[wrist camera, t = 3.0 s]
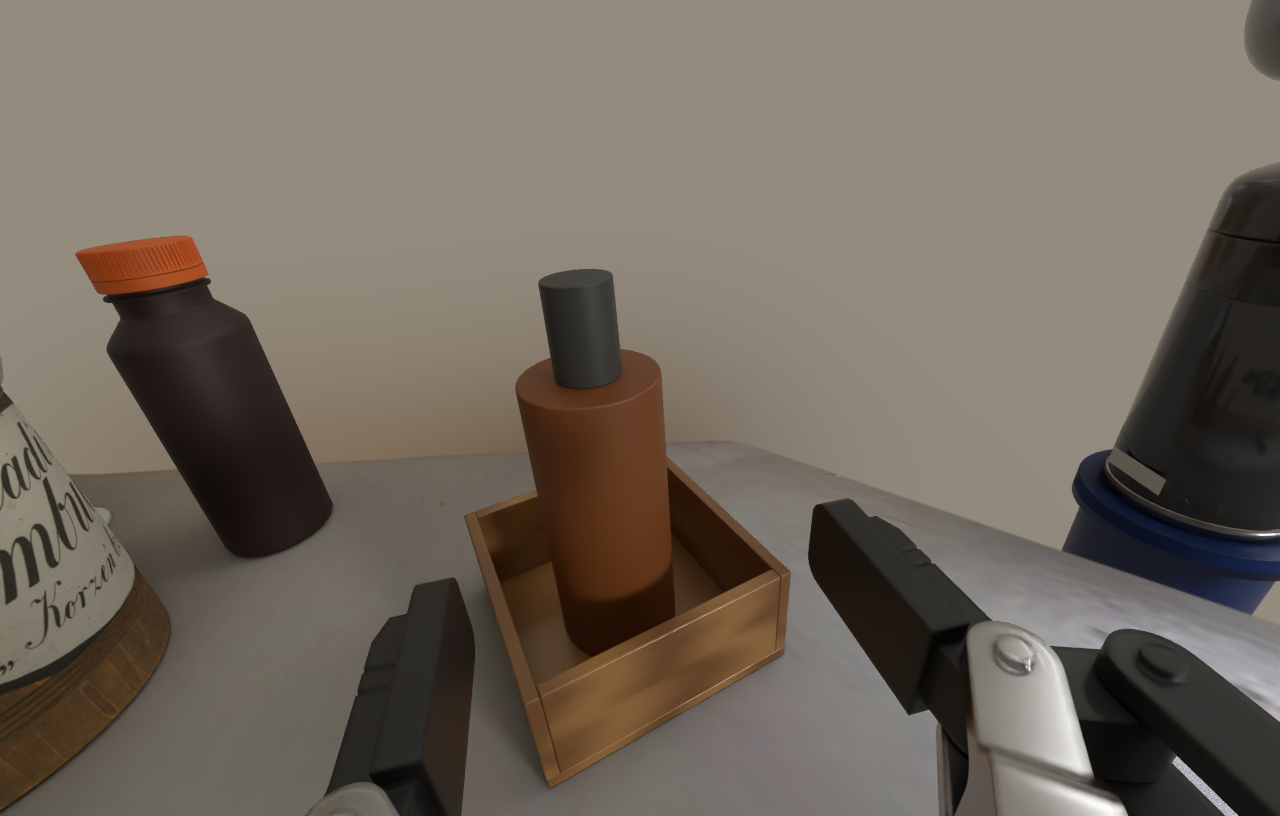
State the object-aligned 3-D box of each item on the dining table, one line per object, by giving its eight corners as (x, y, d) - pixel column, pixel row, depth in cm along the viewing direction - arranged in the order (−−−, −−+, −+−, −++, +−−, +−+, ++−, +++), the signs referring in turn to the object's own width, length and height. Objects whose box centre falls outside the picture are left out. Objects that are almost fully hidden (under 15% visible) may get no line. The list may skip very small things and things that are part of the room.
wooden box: (663, 516, 35) (658, 447, 32) (784, 654, 25) (791, 571, 22) (485, 588, 30) (463, 514, 28) (548, 790, 21) (523, 706, 18)
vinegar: (207, 569, 34) (9, 263, 24) (253, 506, 40) (108, 240, 30) (316, 548, 35) (167, 246, 25) (346, 489, 41) (233, 228, 31)
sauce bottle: (643, 555, 31) (614, 253, 23) (697, 627, 26) (685, 277, 18) (549, 595, 29) (479, 277, 20) (589, 681, 24) (518, 312, 16)
